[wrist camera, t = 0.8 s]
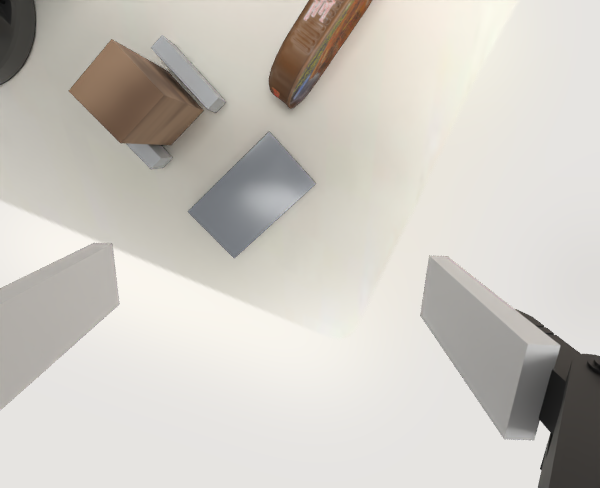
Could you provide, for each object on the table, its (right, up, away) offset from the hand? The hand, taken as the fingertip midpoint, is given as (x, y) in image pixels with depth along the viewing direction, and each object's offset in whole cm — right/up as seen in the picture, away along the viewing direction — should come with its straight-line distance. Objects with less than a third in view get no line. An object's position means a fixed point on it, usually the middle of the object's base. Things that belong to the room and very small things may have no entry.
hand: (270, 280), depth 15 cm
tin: (+4, +21, +19) cm, 29 cm away
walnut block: (-12, +15, +21) cm, 28 cm away
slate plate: (-4, +7, +23) cm, 24 cm away
